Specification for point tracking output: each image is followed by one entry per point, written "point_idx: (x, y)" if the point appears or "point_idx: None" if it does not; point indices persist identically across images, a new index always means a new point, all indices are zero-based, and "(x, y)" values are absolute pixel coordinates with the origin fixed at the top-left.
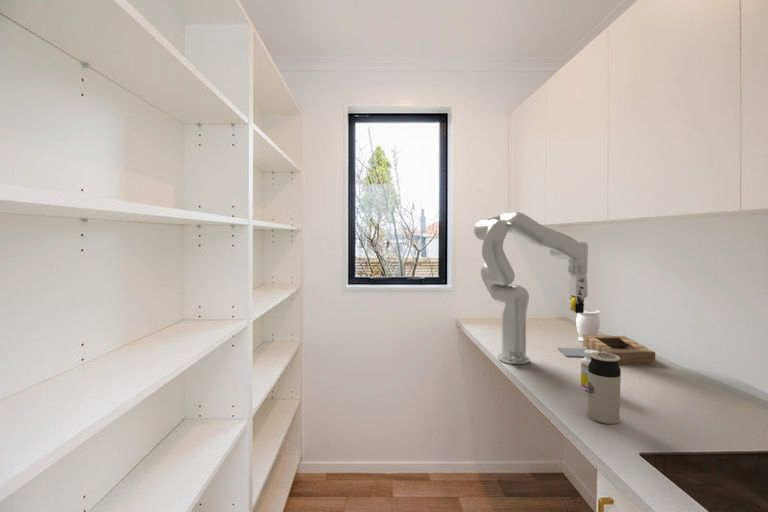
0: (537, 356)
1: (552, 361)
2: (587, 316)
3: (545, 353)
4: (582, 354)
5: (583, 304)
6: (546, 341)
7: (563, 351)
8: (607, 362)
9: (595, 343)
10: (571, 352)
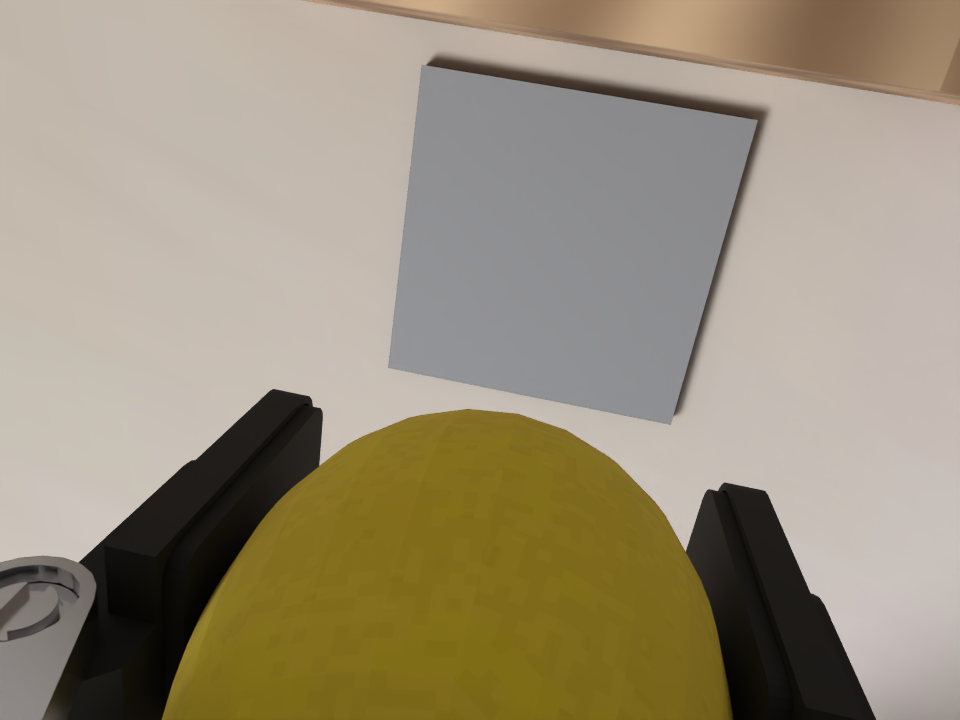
0: None
1: None
2: None
3: None
4: (657, 236)
5: (849, 702)
6: (116, 336)
7: (530, 379)
8: None
9: (640, 44)
10: (570, 316)
